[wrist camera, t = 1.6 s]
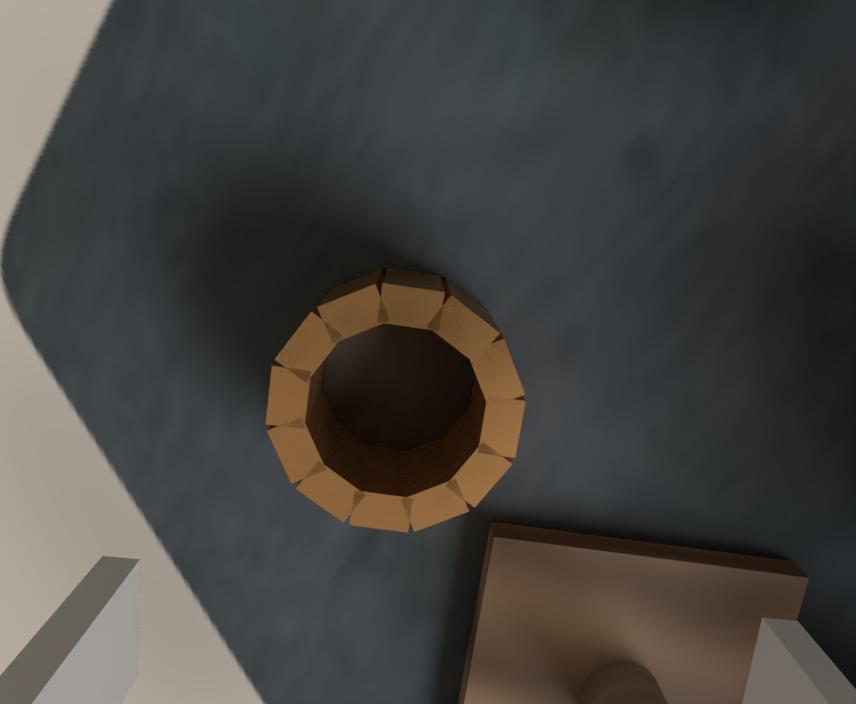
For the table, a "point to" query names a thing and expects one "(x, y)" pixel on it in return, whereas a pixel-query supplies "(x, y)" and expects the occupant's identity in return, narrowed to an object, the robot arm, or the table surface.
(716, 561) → the post block
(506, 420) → the orange ring
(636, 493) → the table surface
